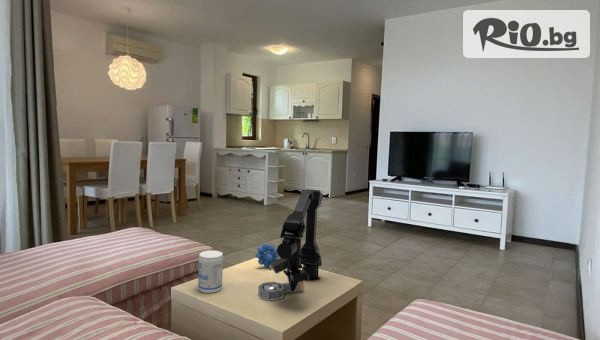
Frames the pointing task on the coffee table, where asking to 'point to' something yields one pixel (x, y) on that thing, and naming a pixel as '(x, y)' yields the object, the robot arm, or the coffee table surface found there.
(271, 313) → the coffee table surface
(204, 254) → the supplement tub
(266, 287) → the grey metal bowl
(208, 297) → the coffee table surface
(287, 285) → the grey octagonal frying pan
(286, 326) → the coffee table surface
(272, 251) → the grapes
